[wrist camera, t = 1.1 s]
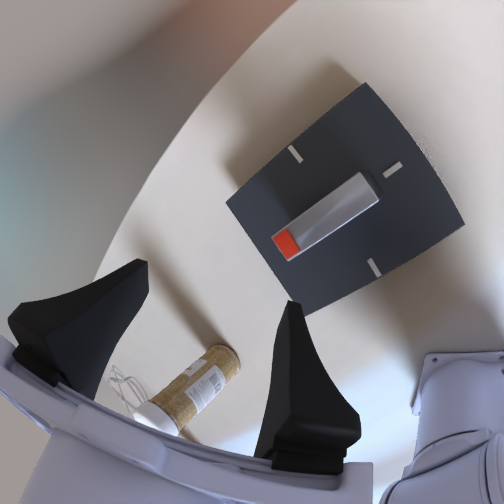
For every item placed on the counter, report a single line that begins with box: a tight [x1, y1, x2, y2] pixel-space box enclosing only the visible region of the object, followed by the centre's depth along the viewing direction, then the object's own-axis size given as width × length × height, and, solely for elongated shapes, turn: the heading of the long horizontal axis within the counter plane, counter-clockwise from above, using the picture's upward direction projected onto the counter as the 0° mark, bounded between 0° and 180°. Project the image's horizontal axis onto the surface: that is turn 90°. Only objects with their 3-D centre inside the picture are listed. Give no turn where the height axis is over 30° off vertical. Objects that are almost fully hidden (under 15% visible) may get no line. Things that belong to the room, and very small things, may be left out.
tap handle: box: [271, 171, 383, 261], centre depth 16 cm, size 6×2×4 cm, turn 130°
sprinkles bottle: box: [133, 344, 240, 436], centre depth 27 cm, size 5×5×14 cm
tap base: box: [226, 82, 465, 317], centre depth 19 cm, size 14×11×3 cm
